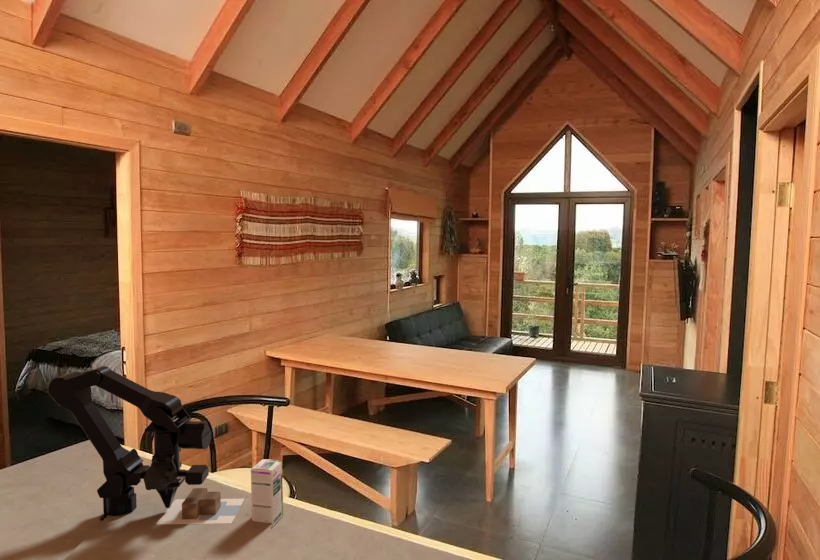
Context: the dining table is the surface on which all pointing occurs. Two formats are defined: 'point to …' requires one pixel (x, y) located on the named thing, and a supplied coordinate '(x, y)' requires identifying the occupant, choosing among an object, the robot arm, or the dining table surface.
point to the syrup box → (267, 491)
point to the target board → (223, 515)
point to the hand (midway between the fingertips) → (168, 507)
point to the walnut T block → (201, 503)
